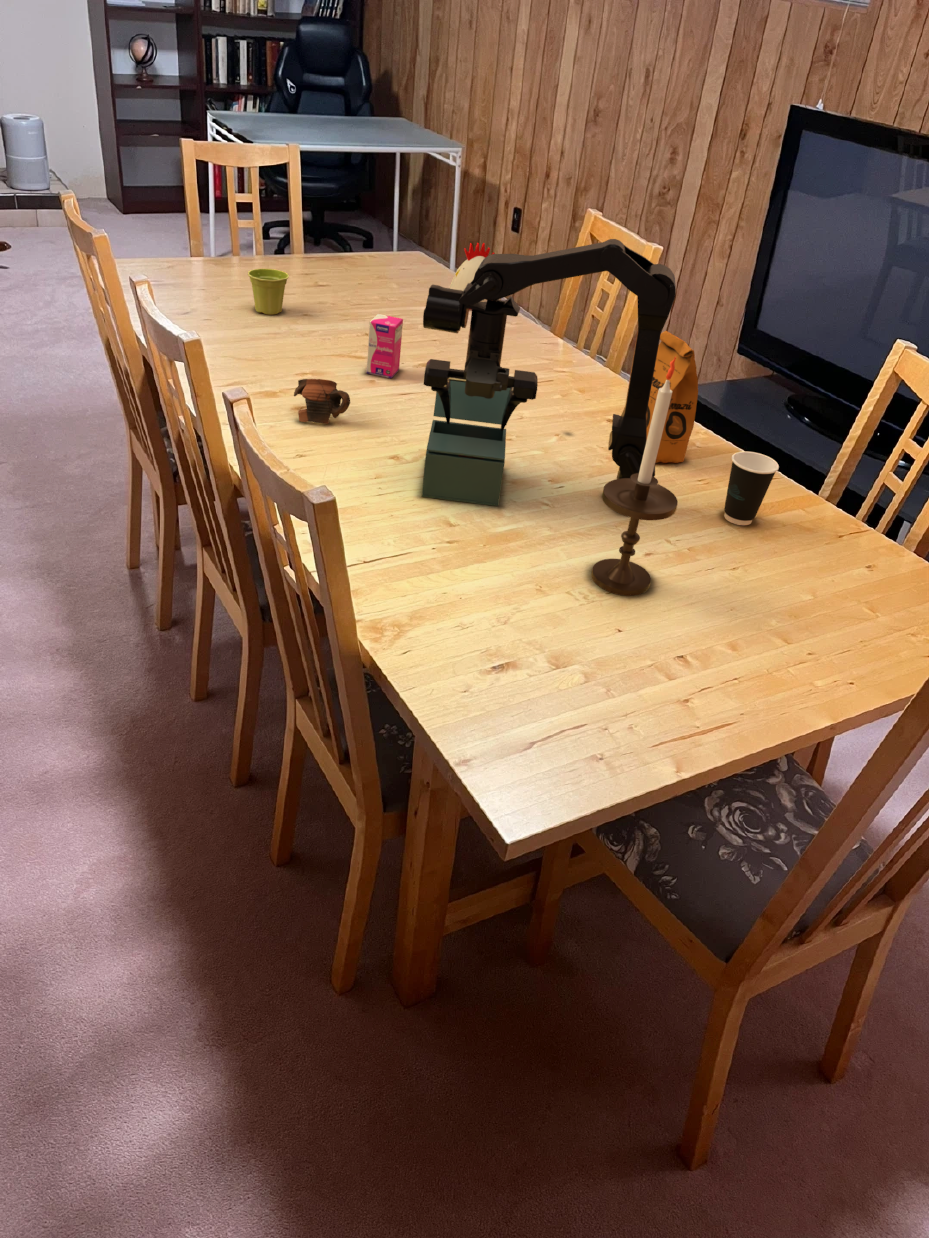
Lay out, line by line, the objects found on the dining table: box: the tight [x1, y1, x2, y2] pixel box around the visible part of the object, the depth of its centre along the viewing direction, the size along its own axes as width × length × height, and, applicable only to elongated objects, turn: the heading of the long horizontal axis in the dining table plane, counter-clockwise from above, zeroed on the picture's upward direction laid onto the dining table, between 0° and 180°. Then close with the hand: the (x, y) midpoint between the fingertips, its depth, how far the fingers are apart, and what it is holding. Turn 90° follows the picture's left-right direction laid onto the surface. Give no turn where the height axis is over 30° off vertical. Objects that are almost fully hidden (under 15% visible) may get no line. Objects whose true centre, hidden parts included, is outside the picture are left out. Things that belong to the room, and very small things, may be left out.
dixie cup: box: [723, 450, 780, 526], centre depth 168 cm, size 8×8×11 cm
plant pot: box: [247, 268, 290, 315], centre depth 231 cm, size 9×9×9 cm
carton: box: [421, 419, 507, 507], centre depth 168 cm, size 13×14×9 cm
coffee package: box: [647, 330, 699, 464], centre depth 185 cm, size 10×12×22 cm
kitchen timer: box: [449, 242, 502, 311], centre depth 253 cm, size 14×14×15 cm
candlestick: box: [590, 357, 679, 597], centre depth 140 cm, size 11×11×35 cm
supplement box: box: [365, 313, 404, 379], centre depth 206 cm, size 6×6×12 cm
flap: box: [433, 381, 510, 426], centre depth 171 cm, size 13×7×1 cm
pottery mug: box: [293, 378, 351, 425], centre depth 186 cm, size 12×10×8 cm
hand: (475, 426), depth 168 cm, fingers open, 9 cm apart
